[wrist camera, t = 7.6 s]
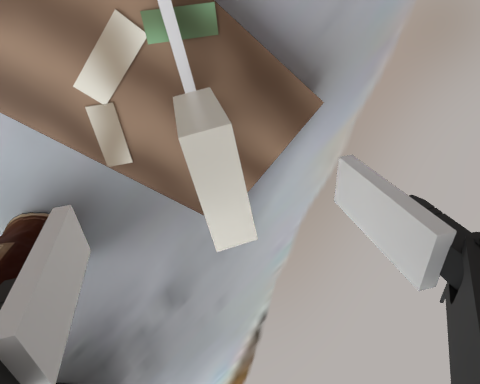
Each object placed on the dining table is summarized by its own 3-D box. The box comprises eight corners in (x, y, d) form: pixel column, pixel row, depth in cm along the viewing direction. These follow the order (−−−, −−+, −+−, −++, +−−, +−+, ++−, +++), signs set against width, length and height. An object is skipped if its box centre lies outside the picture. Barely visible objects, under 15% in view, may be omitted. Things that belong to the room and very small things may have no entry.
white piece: (196, 162, 27) (217, 252, 17) (142, -5, 20) (127, -12, 10) (222, 155, 27) (257, 239, 17) (179, -14, 20) (196, -29, 10)
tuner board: (217, 210, 33) (221, 225, 31) (-127, 28, 20) (-163, 31, 18) (311, 95, 29) (324, 103, 27) (-47, -236, 16) (-82, -276, 13)
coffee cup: (86, 202, 29) (44, 318, 19) (95, 266, 34) (65, 391, 23) (-22, 203, 27) (-141, 335, 16) (2, 272, 31) (-80, 413, 20)
